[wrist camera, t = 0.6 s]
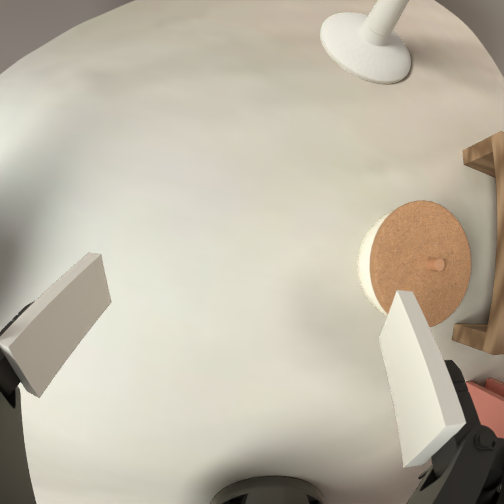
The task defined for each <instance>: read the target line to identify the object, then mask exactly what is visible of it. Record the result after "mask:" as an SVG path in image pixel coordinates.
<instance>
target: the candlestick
mask: <svg viewBox="0 0 504 504" xmlns="http://www.w3.org/2000/svg"><path fill="white" fill-rule="evenodd" d="M408 1H409V0H378V1H377V3H376V4H375V6H374V7H373V9H372V10H371V12H370V14H369V15H368V16H367V15H364V14H360V13H353V12H344V13H337V14H334V15H332V16H330V17H328V18H327V19H326V20H325V21H324V23H323V24H322V27H321V30H320V39H321V42H322V45H323V47H324V49H325V50H326V52H327V53H328V55H329V56H330V57H331V58H332V59H333V60H334V61H335V62H336V63H337V64H338V65H339V66H341V67H342V68H343V69H345V70H346V71H348V72H349V73H351V74H353V75H355V76H357V77H359V78H361V79H364V80H366V81H369V82H373V83H379V84H392V83H396V82H399V81H401V80H402V79H403V78H404V77H405V76H406V75H407V74H408V73H409V70H410V67H411V58H410V54H409V51H408V49H407V47H406V45H405V44H404V42H403V41H402V39H401V38H400V37H399V36H398V35H397V34H396V33H395V32H394V31H393V29H394V27H395V25H396V23H397V21H398V20H399V18H400V16H401V14H402V12H403V10H404V9H405V7H406V5H407V3H408Z"/></svg>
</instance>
